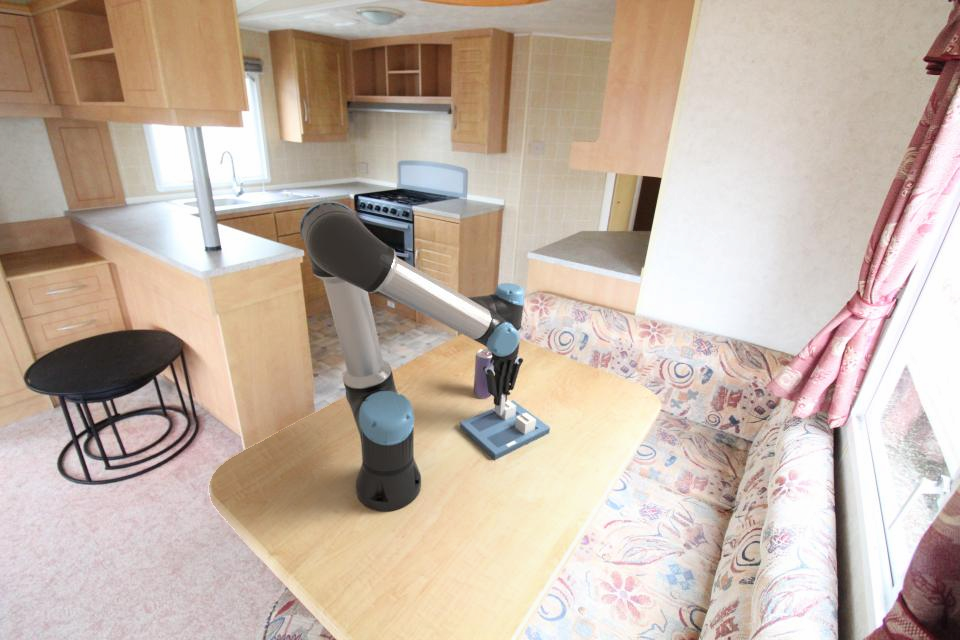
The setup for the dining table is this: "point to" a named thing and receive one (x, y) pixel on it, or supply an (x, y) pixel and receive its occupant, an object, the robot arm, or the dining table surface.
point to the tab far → (509, 410)
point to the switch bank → (501, 432)
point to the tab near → (525, 423)
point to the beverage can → (481, 373)
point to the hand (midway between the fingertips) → (499, 412)
